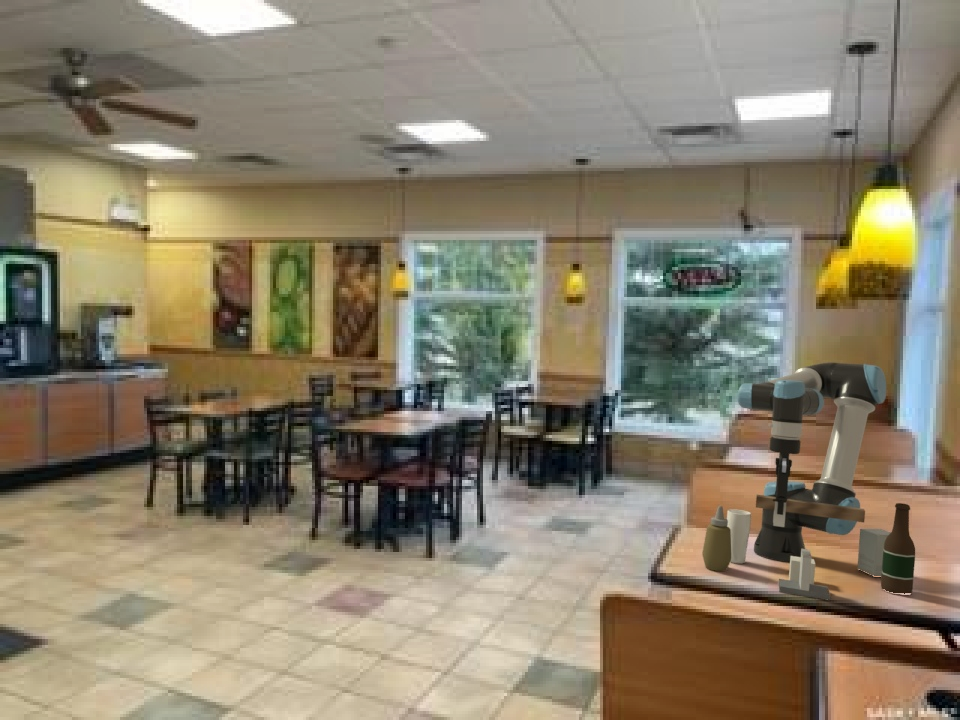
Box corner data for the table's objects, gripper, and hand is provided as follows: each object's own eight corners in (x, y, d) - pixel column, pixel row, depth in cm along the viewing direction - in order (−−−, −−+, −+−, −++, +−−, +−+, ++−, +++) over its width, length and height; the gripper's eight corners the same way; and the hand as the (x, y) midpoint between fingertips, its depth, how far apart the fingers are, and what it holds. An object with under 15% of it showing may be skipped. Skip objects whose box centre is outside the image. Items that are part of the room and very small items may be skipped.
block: (789, 581, 197) (791, 560, 197) (788, 576, 202) (790, 555, 202) (813, 585, 195) (815, 564, 195) (812, 580, 200) (813, 559, 199)
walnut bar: (755, 507, 192) (756, 496, 192) (755, 505, 195) (756, 494, 195) (864, 522, 183) (865, 510, 182) (862, 520, 185) (863, 508, 185)
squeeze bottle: (726, 565, 209) (731, 504, 208) (733, 574, 201) (738, 510, 200) (698, 563, 209) (702, 502, 209) (704, 571, 201) (709, 508, 201)
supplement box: (896, 578, 207) (899, 535, 207) (873, 578, 206) (876, 534, 205) (878, 570, 214) (881, 528, 214) (856, 569, 213) (859, 527, 213)
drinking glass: (723, 562, 211) (727, 512, 211) (723, 556, 218) (727, 508, 217) (747, 566, 209) (751, 515, 209) (747, 560, 215) (751, 511, 215)
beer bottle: (874, 585, 199) (880, 500, 198) (902, 587, 198) (909, 501, 198) (889, 595, 191) (896, 506, 190) (918, 597, 191) (925, 508, 190)
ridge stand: (779, 591, 188) (782, 552, 188) (778, 584, 194) (781, 545, 194) (829, 600, 184) (832, 559, 183) (827, 592, 190) (830, 552, 190)
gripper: (770, 433, 200) (763, 516, 200) (770, 438, 185) (763, 528, 185) (799, 436, 197) (792, 520, 197) (802, 442, 182) (795, 533, 182)
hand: (778, 524), depth 191 cm, fingers closed on walnut bar, 3 cm apart
